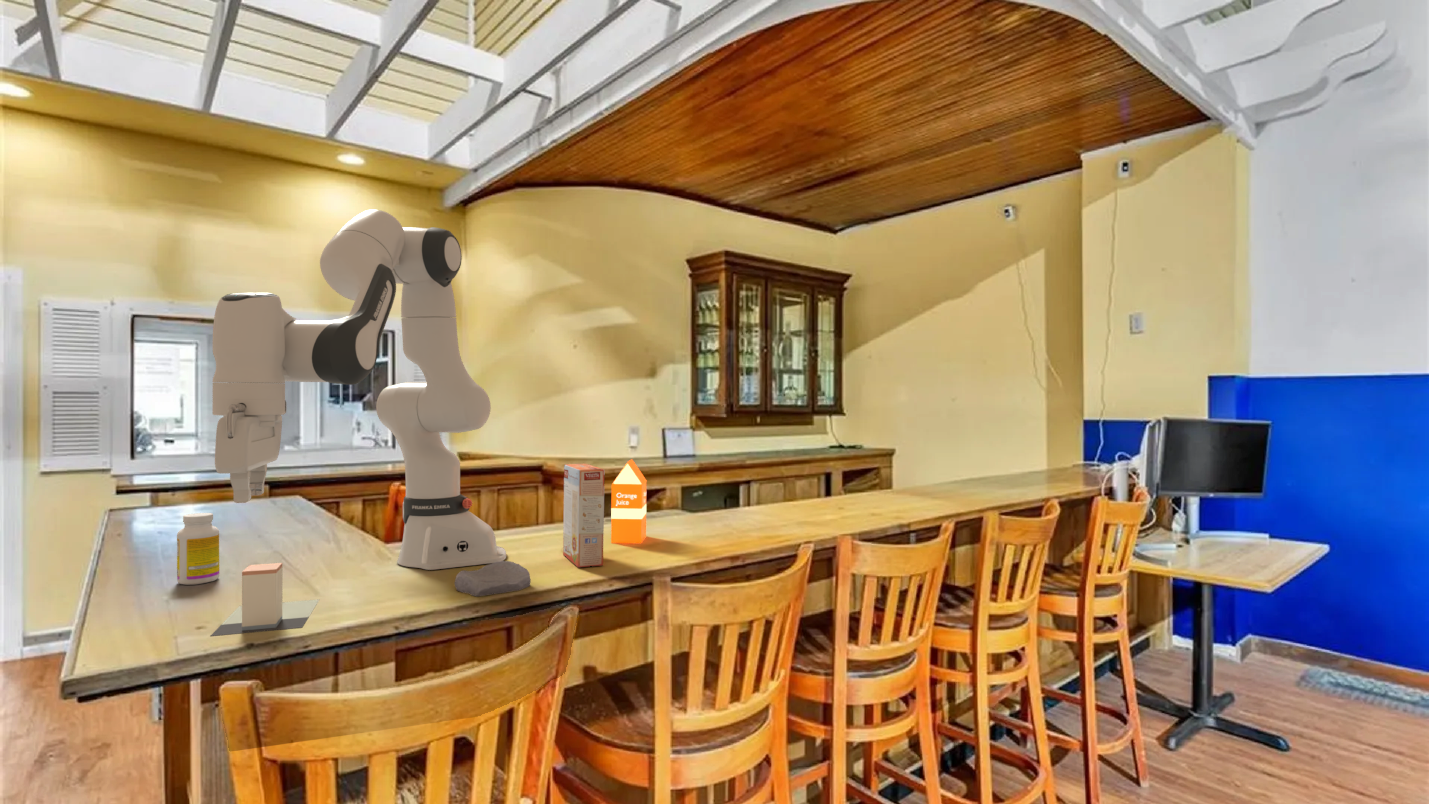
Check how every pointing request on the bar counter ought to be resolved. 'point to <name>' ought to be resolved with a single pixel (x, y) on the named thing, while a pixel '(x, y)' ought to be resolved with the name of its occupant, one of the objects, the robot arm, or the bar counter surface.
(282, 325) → the robot arm
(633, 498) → the orange juice
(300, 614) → the bar mat
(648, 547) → the bar counter surface
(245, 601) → the pillar block
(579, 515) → the cracker box
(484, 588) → the stone block
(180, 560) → the supplement bottle
